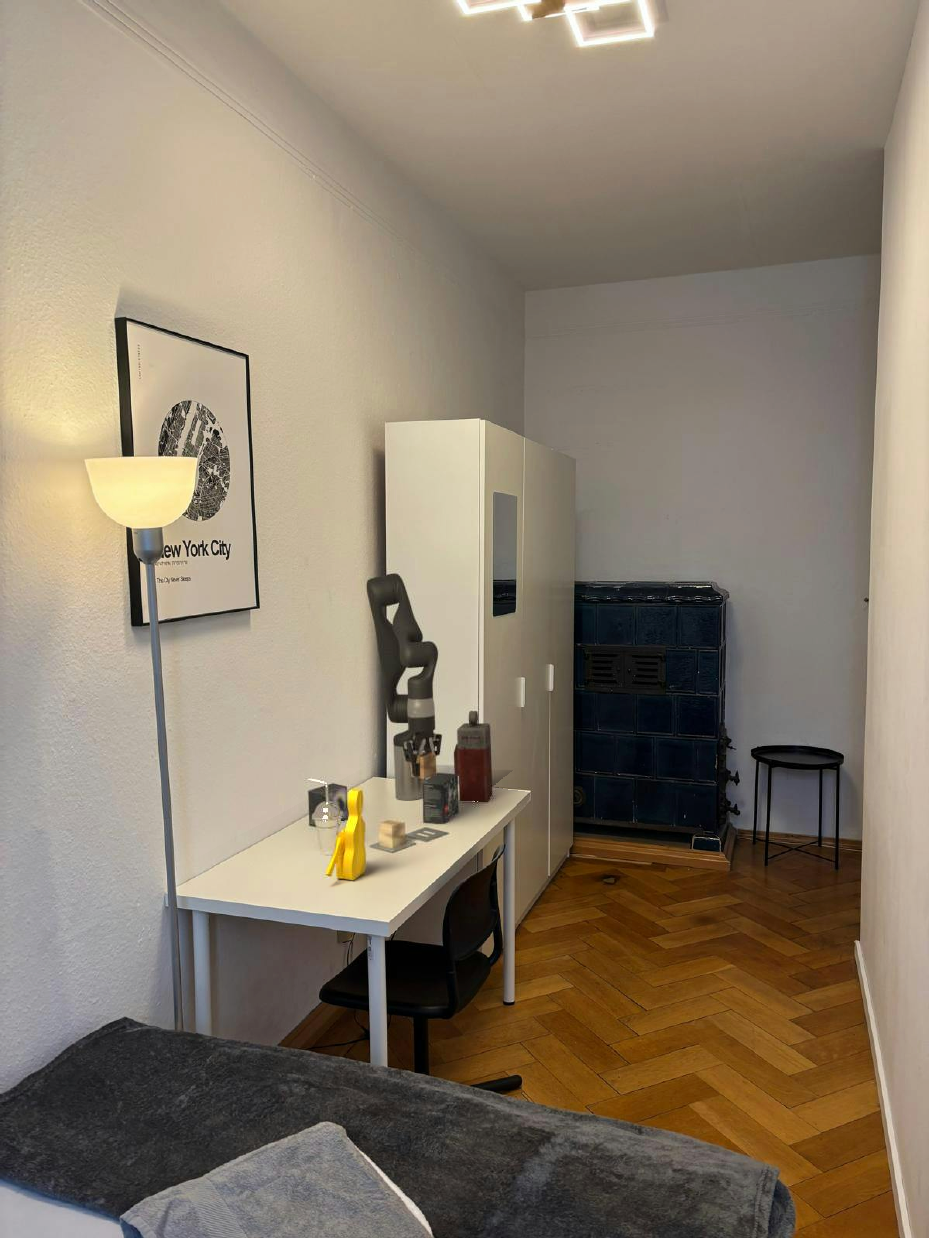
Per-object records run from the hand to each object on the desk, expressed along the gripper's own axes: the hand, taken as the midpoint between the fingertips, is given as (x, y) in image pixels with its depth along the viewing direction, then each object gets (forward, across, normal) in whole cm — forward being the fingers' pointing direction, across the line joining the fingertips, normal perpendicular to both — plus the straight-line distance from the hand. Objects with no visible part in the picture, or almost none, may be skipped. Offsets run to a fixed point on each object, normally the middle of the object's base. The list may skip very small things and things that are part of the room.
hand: (423, 773), depth 266 cm
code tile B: (+17, +12, -1) cm, 21 cm away
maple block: (+17, +12, -1) cm, 21 cm away
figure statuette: (+17, +35, +8) cm, 40 cm away
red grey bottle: (+18, -36, -14) cm, 42 cm away
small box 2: (+18, -15, -8) cm, 24 cm away
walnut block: (+1, 0, 0) cm, 1 cm away
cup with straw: (+17, +26, -11) cm, 33 cm away
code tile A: (+17, 0, 0) cm, 17 cm away
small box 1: (+18, +8, -32) cm, 37 cm away
